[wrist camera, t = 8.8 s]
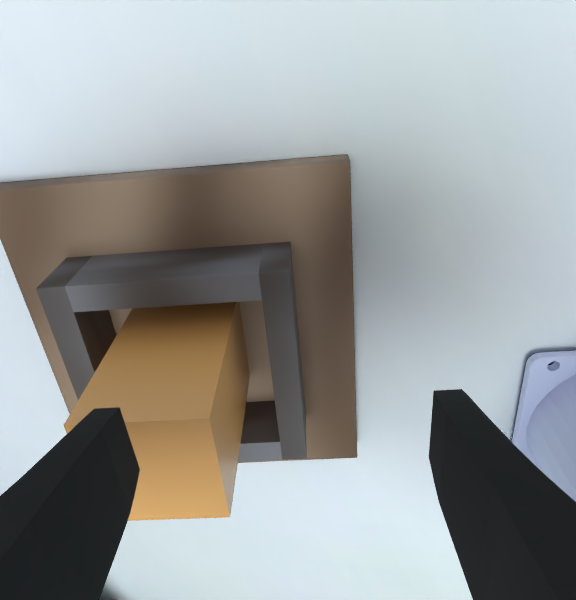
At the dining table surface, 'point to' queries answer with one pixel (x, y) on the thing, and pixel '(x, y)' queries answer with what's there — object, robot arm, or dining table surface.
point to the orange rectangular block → (177, 405)
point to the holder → (204, 280)
